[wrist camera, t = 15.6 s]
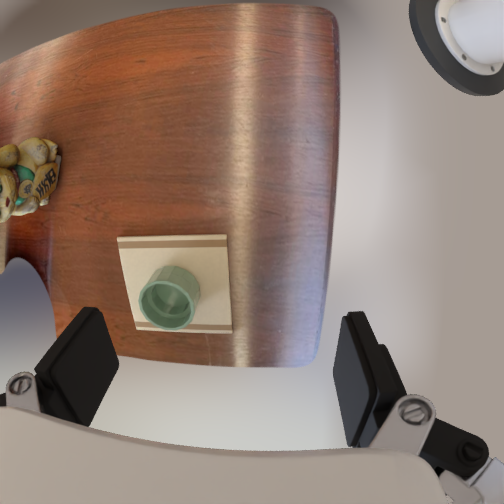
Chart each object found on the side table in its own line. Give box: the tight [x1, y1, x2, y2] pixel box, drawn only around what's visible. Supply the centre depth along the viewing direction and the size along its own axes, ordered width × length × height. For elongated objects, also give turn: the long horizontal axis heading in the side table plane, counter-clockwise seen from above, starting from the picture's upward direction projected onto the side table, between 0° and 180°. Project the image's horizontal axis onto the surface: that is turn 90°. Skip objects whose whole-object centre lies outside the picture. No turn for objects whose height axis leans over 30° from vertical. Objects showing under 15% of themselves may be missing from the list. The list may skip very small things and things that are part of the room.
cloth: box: [117, 234, 233, 333], centre depth 38 cm, size 14×14×1 cm
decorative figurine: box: [0, 137, 61, 223], centre depth 26 cm, size 10×8×15 cm
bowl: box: [138, 266, 201, 331], centre depth 36 cm, size 7×7×4 cm
